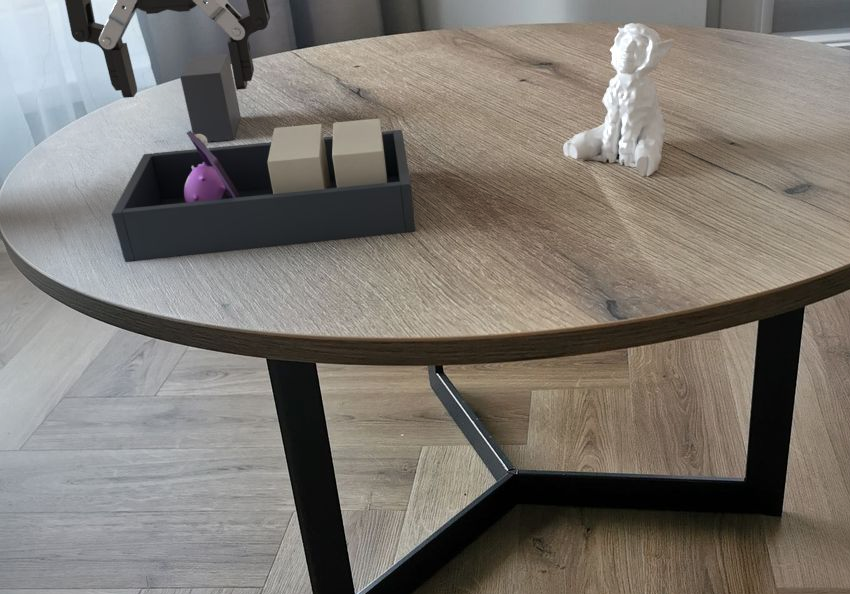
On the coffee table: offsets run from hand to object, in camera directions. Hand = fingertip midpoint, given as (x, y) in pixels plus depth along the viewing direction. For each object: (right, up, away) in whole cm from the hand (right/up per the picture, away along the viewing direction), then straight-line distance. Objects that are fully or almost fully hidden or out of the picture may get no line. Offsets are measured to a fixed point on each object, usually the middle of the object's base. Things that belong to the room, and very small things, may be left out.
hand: (187, 91), depth 75 cm
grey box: (-6, +4, +29) cm, 29 cm away
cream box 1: (+8, -8, +6) cm, 13 cm away
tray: (+6, -9, +6) cm, 13 cm away
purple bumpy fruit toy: (+1, -9, +6) cm, 11 cm away
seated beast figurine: (+36, -2, +15) cm, 40 cm away
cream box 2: (+13, -8, +7) cm, 17 cm away
